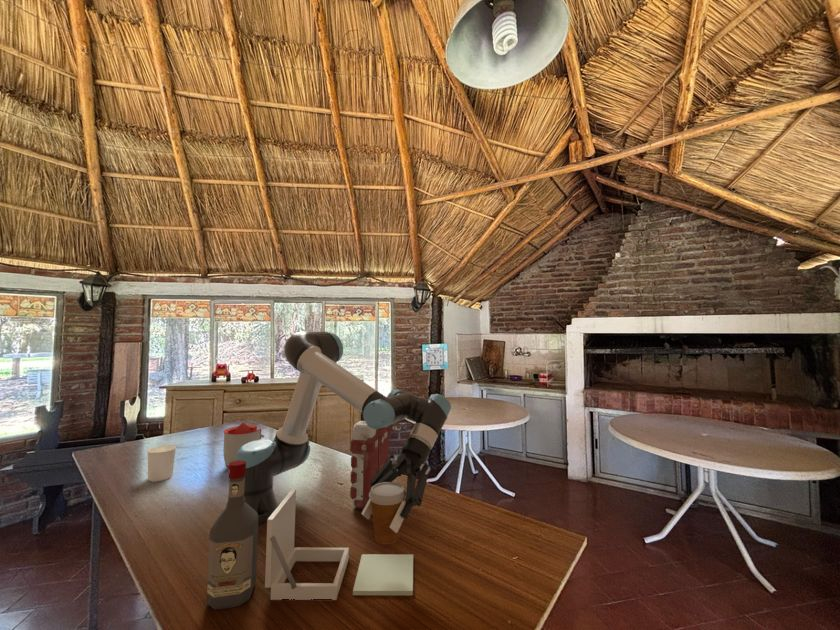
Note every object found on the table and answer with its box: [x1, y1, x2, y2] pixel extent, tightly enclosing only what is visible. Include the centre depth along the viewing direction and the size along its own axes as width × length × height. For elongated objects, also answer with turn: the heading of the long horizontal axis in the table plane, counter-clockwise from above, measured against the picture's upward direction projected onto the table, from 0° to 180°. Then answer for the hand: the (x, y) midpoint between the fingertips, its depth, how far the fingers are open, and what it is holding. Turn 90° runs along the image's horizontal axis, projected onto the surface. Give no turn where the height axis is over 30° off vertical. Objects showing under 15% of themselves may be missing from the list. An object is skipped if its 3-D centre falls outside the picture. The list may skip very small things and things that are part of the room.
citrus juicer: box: [223, 422, 265, 471], centre depth 165 cm, size 16×17×20 cm
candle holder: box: [147, 445, 177, 483], centre depth 150 cm, size 10×10×12 cm
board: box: [352, 553, 414, 596], centre depth 90 cm, size 14×14×1 cm
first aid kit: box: [349, 420, 392, 511], centre depth 134 cm, size 23×8×30 cm, turn 168°
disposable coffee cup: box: [369, 481, 407, 545], centre depth 91 cm, size 10×10×12 cm
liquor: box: [206, 460, 259, 611], centre depth 83 cm, size 9×9×30 cm
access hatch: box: [264, 489, 350, 601], centre depth 89 cm, size 16×16×18 cm
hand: (378, 523), depth 88 cm, fingers closed on disposable coffee cup, 9 cm apart
